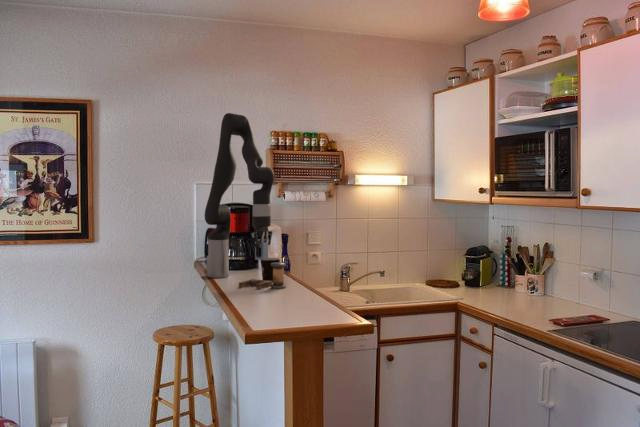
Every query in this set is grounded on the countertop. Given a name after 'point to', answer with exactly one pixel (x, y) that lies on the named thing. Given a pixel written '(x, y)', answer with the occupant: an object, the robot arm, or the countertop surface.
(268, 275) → the coffee mug
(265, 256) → the grey rectangular block
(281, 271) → the bobbin
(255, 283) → the u-shaped bracket
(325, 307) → the countertop surface
